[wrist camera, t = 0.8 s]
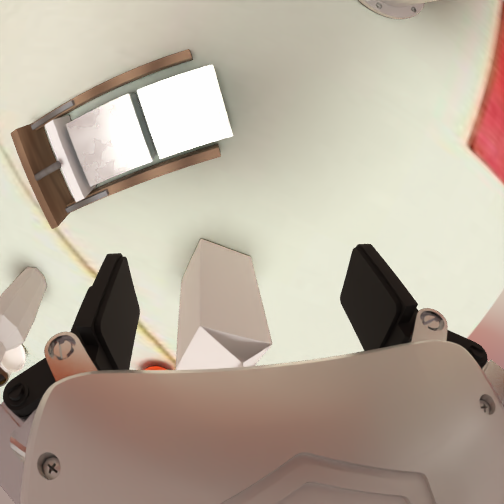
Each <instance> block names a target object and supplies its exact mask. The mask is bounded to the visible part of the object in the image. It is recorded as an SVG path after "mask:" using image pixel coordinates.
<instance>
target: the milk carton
mask: <svg viewBox="0 0 504 504" xmlns="http://www.w3.org/2000/svg"><path fill="white" fill-rule="evenodd" d="M271 345H272V340H271V336H270V332H269V328H268V324H267V320H266V316H265V311H264V307H263V303H262V299H261V295H260V291H259V287H258V283H257V279H256V275H255V271H254V267H253V263H252V259H251V257H250V256H247V255H245V254H242V253H239V252H236V251H234V250H231V249H228V248H225V247H223V246H220V245H217V244H215V243H212V242H209V241H206V240H204V239H200V241H199V243H198V245H197V247H196V249H195V251H194V254H193V256H192V258H191V260H190V262H189V264H188V267H187V269H186V271H185V273H184V276H183V278H182V282H181V293H180V306H179V319H178V335H177V353H176V370H195V369H219V368H235V367H249V366H255V365H256V363H257V362H258V361H259V360H260V359H261V357H262V356H263V355H264V354H265V353H266V351H267V350H268V349H269V348H270V346H271Z"/></svg>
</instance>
